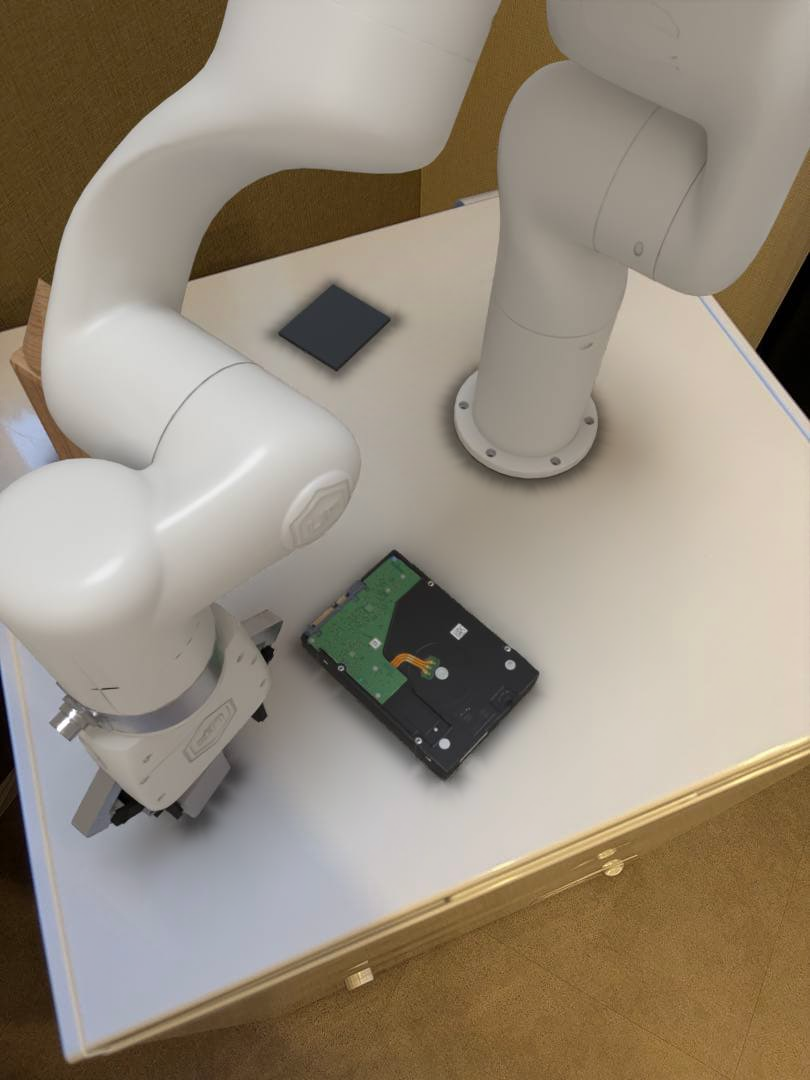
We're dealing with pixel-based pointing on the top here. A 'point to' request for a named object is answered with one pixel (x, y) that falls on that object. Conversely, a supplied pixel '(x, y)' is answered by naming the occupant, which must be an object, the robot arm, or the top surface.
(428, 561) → the top surface
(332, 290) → the mat
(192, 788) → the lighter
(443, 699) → the disk drive
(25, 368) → the decorative item
